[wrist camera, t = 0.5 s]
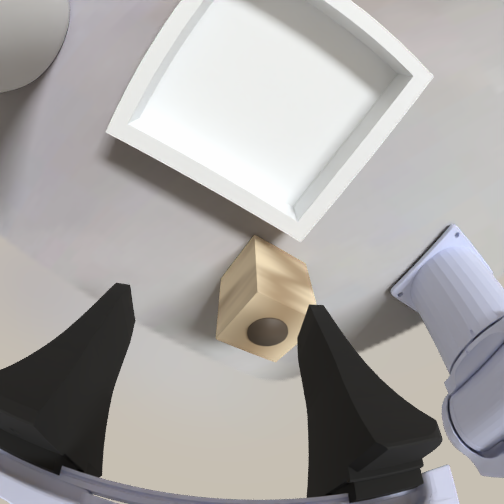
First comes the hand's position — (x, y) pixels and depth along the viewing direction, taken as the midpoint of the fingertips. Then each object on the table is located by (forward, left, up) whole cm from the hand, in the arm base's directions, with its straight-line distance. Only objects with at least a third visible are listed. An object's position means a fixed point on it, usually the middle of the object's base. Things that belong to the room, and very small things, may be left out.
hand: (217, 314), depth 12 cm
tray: (+2, -8, -10) cm, 13 cm away
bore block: (-5, +3, -10) cm, 11 cm away
